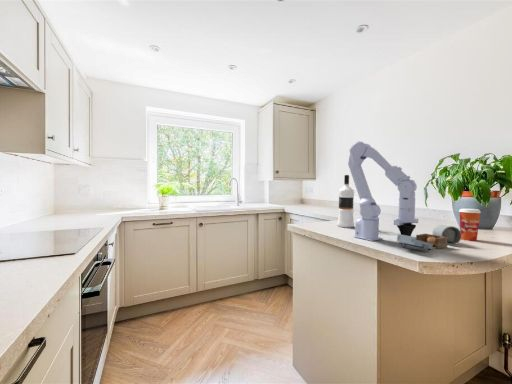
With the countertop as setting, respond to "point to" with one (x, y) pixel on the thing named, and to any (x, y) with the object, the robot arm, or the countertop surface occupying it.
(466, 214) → the paper cup
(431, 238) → the ball
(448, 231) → the ceramic mug
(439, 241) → the pocket
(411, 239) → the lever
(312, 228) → the countertop surface
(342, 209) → the vodka
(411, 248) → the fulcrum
